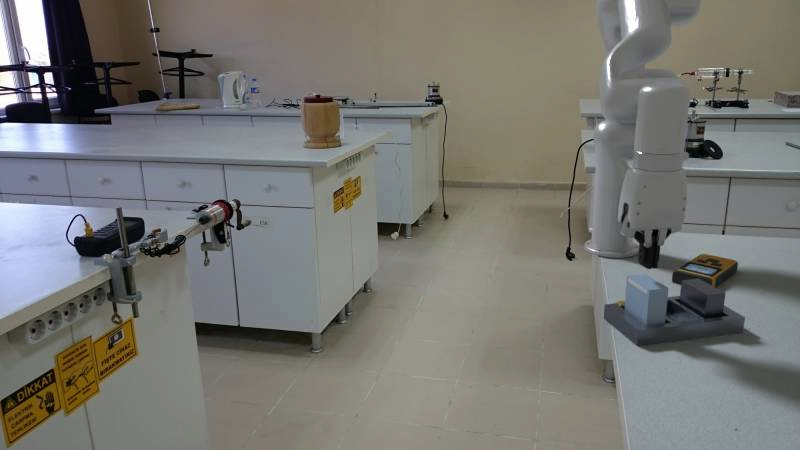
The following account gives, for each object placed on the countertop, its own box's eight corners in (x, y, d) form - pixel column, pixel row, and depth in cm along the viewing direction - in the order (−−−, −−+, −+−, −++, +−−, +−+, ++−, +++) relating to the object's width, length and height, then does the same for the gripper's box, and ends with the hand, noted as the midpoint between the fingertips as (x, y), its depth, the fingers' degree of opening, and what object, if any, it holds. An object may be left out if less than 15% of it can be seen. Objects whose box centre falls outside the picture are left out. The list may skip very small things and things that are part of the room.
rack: (603, 318, 112) (606, 284, 110) (701, 306, 116) (704, 273, 114) (637, 346, 102) (640, 308, 100) (743, 332, 105) (748, 295, 103)
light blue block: (623, 316, 111) (627, 275, 108) (641, 314, 111) (645, 273, 109) (645, 333, 104) (649, 290, 102) (664, 331, 105) (668, 288, 102)
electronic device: (739, 274, 133) (741, 259, 132) (711, 294, 122) (713, 278, 121) (699, 265, 138) (700, 250, 138) (669, 283, 128) (671, 268, 127)
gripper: (684, 153, 104) (673, 254, 110) (603, 160, 102) (596, 262, 107) (714, 162, 97) (700, 269, 103) (628, 169, 95) (619, 279, 100)
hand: (647, 265), depth 105 cm, fingers closed
